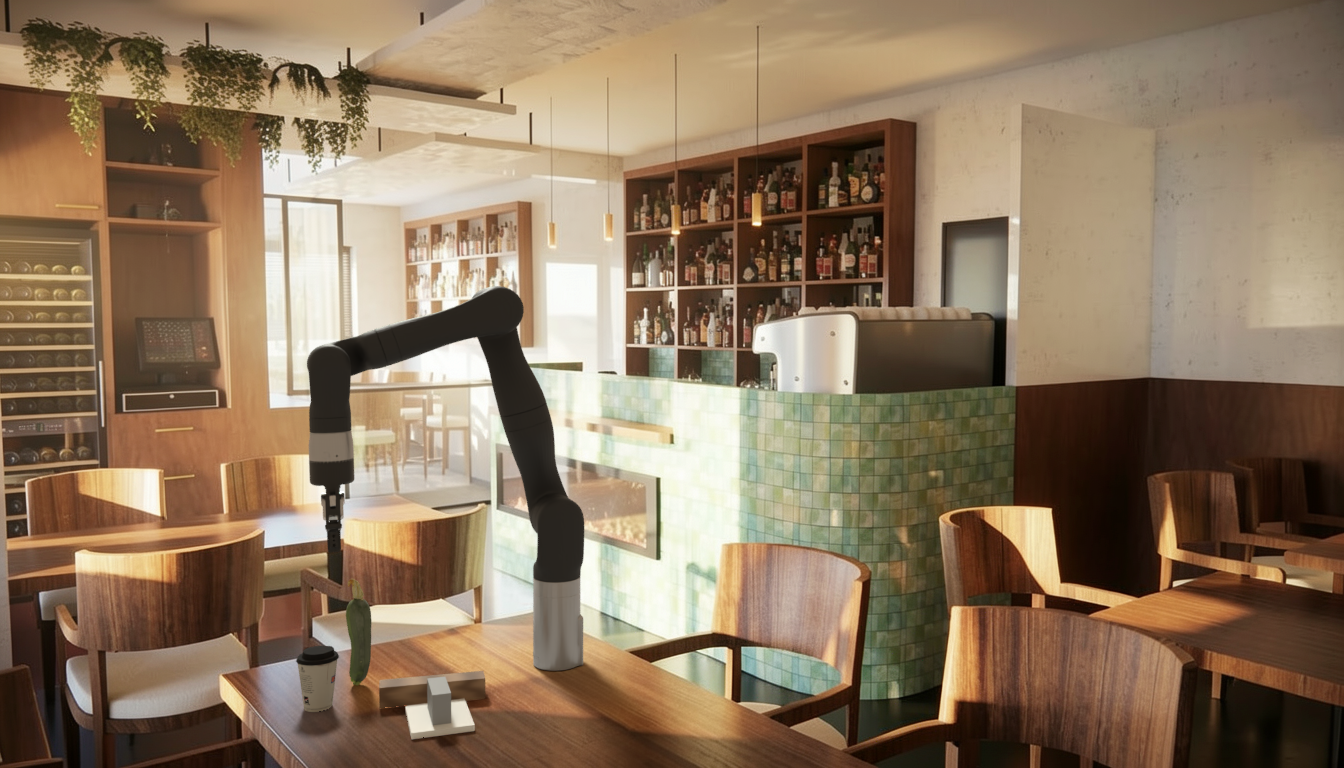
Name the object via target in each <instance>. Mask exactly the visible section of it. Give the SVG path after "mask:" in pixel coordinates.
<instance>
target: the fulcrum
mask: <svg viewBox="0 0 1344 768" xmlns="http://www.w3.org/2000/svg"><path fill="white" fill-rule="evenodd" d="M404 708H405V710H404V711H405V717H406V716H407V717H406V722H407V721H408V722H407V725H408V726H407V727H408V732H409V735H410V738H411V740H418V739H425V738H432V737H439V736H447V735H455V734H462V733H470V732H475V730H476V729H475V728H476V727H475V722H474V719H473V717H472V714H471V711H470V709H469V707H468V704H467V701H465V698H464V699H456V700H451V691H450V688H449V686H448V683H447V680H446V677H437V678H428V679H427V703H423V704H415V705H407V706H405V707H404ZM423 737H424V738H423Z"/></svg>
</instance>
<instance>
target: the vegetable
mask: <svg viewBox="0 0 1344 768" xmlns="http://www.w3.org/2000/svg"><path fill="white" fill-rule="evenodd" d="M351 585H352V587H351ZM347 587H348V588H350V587H351V591H352V593H351V594H352V596H351V597H352V598H353V599H351V600H350V601H349V602H348V604H347V606H346V610H345V619H346V621H345V622H346V627H347V633H348V637H349V641H350V659H349V661H350V662H349V670H348V671H349V673H348V674H349V677H350V682H352V685H355V686H359V685H360V684H362V683H363V681H364V680H365V679H366V678H367V676H368V674H369V669H370V663H371V659H372V657H371V655H372V649H371V648H372V611H371V607H370V603H368V601H367V600H366V599H364V595H365V594H364V591H363V589H362V588H361V585H360V583H359V581H358V580H356V579H355V578H349V580H348V581H347Z"/></svg>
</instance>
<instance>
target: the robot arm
mask: <svg viewBox="0 0 1344 768" xmlns="http://www.w3.org/2000/svg"><path fill="white" fill-rule="evenodd" d="M524 308H525V306H524V304H523V302H522V298H521V297H520V296H519V295H518V294H517V293H516V292H515V291H514V290H512V289H510V288H508V287H507V286H501V285H498V286H497V285H494V286H489V287H484V288H482V289H480V290H478V291H477V292H475V294H474V295H473V296H472V297H471V299H469V300H466V301H464V302H463V303H460V304H458V305H455V306H452V307H449V308H447V309H444V310H440V311H438V312H433V313H429V314H426V315H421V316H418V317H417V316H416V317H413V318H409V319H404V320H401V321H397V322H394V323H390V324H387V325H384V326H381V327H378V328H377V327H376V328H374V329H371V330H369V331H367V332H362V333H361V334H359V335H357V336H352V337H348V338H343V339H340V340H335V341H332V342H328V343H325V344H321V345H319V346H317V347H315V348H314V349H313V350H312V351H310V353H309V354H308V357H307V359H306V368H307V372H308V380H309V394H310V397H309V398H310V402H309V403H310V404H309V410H308V414H309V415H308V419H309V421H308V422H309V423H308V425H309V440H308V464H309V465H308V469H309V483H310V484H311V485H312V486H314V487H315V486H316V487H317V486H318V487H324V490H325V492H322V493H321V494H320V502H321V503H320V505H321V506H322V519H323V521H325V525H324V528H325V531H326V538H327V539H326V540H327V545H326V546H327V552H328V553H329V554H330V553H332V554H333V553H339V552H341V551H342V539H341V538H342V537H341V533H342V532H341V531H342V528H343V527H342V526H343V524H342V520H343V519H344V518H345V517H344V505H345V491H341V486H342V485H349V484H352V483H353V482H354V481H355V456H354V455H355V453H354V451H355V450H354V447H355V446H354V439H353V433H352V432H353V431H352V411H351V404H350V403H351V402H350V399H351V398H350V397H351V378H352V377H353V376H355V375H358V374H361V373H364V372H366V371H369V370H378V369H382V368H386V367H388V366H392V365H395V364H398V363H401V362H404V361H407V360H409V359H410V360H411V359H413V358H415V357H418V356H421V355H423V354H427V353H428V352H431V351H434V350H436V349H439V348H442V347H445V346H449V345H451V344H454V343H458V342H462V341H466V340H470V339H476V338H477V340H478V342H479V346H480V348H481V350H482V352H483V355H484V358H485V360H486V364H487V368H488V370H489V377H490V380H491V385H492V388H493V389H492V391H493V392H494V393H493V394H494V397H495V401H496V405H497V409H498V413H499V416H500V419H501V420H500V421H501V422H502V423H501V424H502V426H503V429H504V430H503V431H504V433H505V436H506V440H507V442H508V445H509V448H510V451H511V453H512V456H513V459H514V462H515V464H516V465H517V466H516V467H517V469H518V471H519V473H520V474H519V475H520V477H521V479H522V480H521V481H522V484H523V489H524V490H523V491H524V494H525V500H526V506H527V511H528V517H529V522H530V525H531V527H532V529H533V531H534V532H535V533H536V534H537V544H536V545H537V546H536V547H537V549H536V550H537V551H536V553H537V554H536V560H535V561H534V563H533V566H532V569H533V570H532V575H533V577H532V578H533V579H532V581H533V582H532V585H533V586H532V589H533V596H532V597H533V603H532V604H533V605H532V608H533V609H532V610H533V611H532V612H533V613H532V614H533V616H532V618H533V620H532V627H533V629H532V632H533V634H532V635H533V636H532V637H533V638H532V639H533V640H532V641H533V642H532V645H533V646H532V647H533V650H532V656H533V657H532V658H533V659H532V661H533V663H532V664H533V666H534V667H535V668H537V669H539V670H542V671H543V670H544V671H565V670H570V669H573V668H577V667H578V666H584V616H583V615H582V614H581V575H582V574H581V572H582V571H581V570H582V565H583V564H584V563H583V562H584V555H585V553H584V550H585V517H584V513H583V511H582V508H581V507H580V505H578V504H577V502H575V501H574V500H572V499H570V498H569V496H568V494H567V491H566V490H565V488H564V484H563V481H562V479H561V476H560V473H559V471H558V466H557V462H556V461H557V460H556V446H555V445H556V444H555V432H554V431H555V430H554V425H553V421H552V417H551V414H550V410H549V407H548V403H547V400H546V396H545V394H544V391H543V390H542V388H541V385H540V383H539V381H538V378H537V377H536V375H535V374H534V371H533V370H532V368H531V366H530V364H529V362H528V360H527V359H526V357H525V354H524V351H523V348H522V345H521V340H520V336H519V335H520V334H519V332H518V326H519V325H520V324H521V321H522V320H523V318H524V312H525V311H524V310H525V309H524Z"/></svg>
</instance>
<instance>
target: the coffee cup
mask: <svg viewBox="0 0 1344 768" xmlns="http://www.w3.org/2000/svg"><path fill="white" fill-rule="evenodd" d="M339 658H340V655H339V653H338V652H337V650H335V648H334V647H333V646H332V645H315V646H310V647H307V648H305V649H303V650H302V653H300V654H299V655H297V658H296V660H295V662H296V663H297V668H298V676H299V681H300V682H299V684H300V689H301V695H302V704H303V710H304V711H305V712H308V713H320V712H319V711H321V712H324V711H323V710H325V711H327V710H326V709H328V710H329V708H330V707H331V706H332V707H333V704H334V703H333V702H334V701H333V700H334V694H335V693H334V692H335V683H336V677H337V676H336V675H337V666H338V659H339ZM332 707H331V708H332ZM331 708H330V709H331Z"/></svg>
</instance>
